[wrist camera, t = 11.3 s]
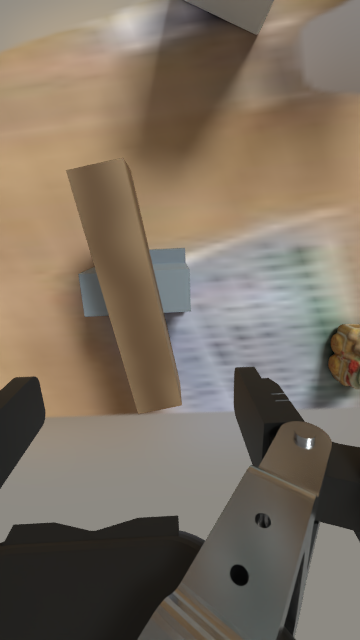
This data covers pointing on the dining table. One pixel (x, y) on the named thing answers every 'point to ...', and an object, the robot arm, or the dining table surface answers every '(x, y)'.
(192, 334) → the dining table surface
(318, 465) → the robot arm
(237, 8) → the soap bottle
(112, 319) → the walnut bar
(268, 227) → the dining table surface
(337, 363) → the ornament
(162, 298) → the fulcrum ridge
